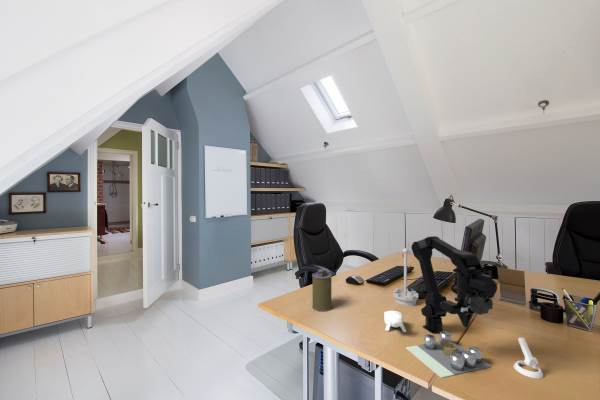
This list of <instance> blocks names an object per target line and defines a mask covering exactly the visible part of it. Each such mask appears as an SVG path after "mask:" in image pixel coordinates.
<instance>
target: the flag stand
mask: <svg viewBox="0 0 600 400" xmlns="http://www.w3.org/2000/svg"><path fill="white" fill-rule="evenodd" d="M402 253H403V254H402V258H403V290H401V288H399V287H398V288H395V289H393V290H392V293H393V294H392V296H393V297H394V301H396V302H397V304H398V303H399V304H398V305H401V304H402V305H401V306H405V305H406V307H411V306H415V305H417V300H418V299H419V293H418V292H417V291H416V290H413V289H412V290H411V291H410V290H409V288H408V253H409V249H408V248H406V247H404V248H403V249H402ZM396 302H395V303H396Z"/></svg>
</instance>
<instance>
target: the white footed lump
mask: <svg viewBox="0 0 600 400" xmlns="http://www.w3.org/2000/svg"><path fill="white" fill-rule="evenodd" d="M383 313H384V314H383V317H384V320H383V321H384V323H385V325H386V326H385V331H386V332H389V331H390V328H392V327H393V328H399V327H400V329H401V330H402V332H403V333H406V332H407V329H406V327H405V326H404V317H403V313H402V312H400V311H396V310H387V311H384V312H383Z"/></svg>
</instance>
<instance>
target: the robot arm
mask: <svg viewBox="0 0 600 400" xmlns="http://www.w3.org/2000/svg"><path fill="white" fill-rule="evenodd" d="M433 250H436V251H437V252H439V253H441V254H442V255H443V256H446V257H447V258H449V259H450V262H451V263H452V265H454V266H455V268H454V269H452V271H453V273H456V275H457V277H456V278H457V279H456V280H457V283H456V285H457V286H455V287H454V291H456V292H457V293H456V297H454V301H455V302H454V301H452V300H450V299H449V300H448V299H447V297H446V296H444V295H442V294H441V293H440V289H439V286H438V283H437V279H436V274H435V271H434V267H433V263H432V260H431V259H432V256H433ZM411 251H412V255H413V257H415V258H416V260H417V261H418V262H419V267H420V270H421V275H422V278H423V282H424V285H425V286H424V287H425V291H426V296H425V299H424V302H425V305H424V306H423V307H422V308H421V309H420V311H421V314H422V316H424V317H425V324H424V325H422V328H423V329H425V330H426V331H428V332H430V333H431V334H440V331H446V330H445V329H443V317H444V318H446V316H447V313H449V314H451V315H457V316H458V318H459V320H460V322H461V325H462V327H464V328H465V329H466V328H468V326H469V325H470V323H471V320H472V318H473V317H474V315H476V314H477V315H480V316H481V315H484V314H486V315H487V314H488V313H489V311H490V310H493V309H494V308H493V306H494V305H493V304H494V303H493V302H494V301H493V300H492V299H491V297H493V296H495V294H496V293H497V291H498V285H497V283H496V281H495V280H494V279H493V276H492V275H489V274H488V275H487V274H486V272H485V270H484V269H485V268H484V267H483V266H482V264H481V262H480V260H479V258H478V255H476V254H474V253H473V252H470V251H466V250H460V249H458V248H457V247H455V246H453V245H451V244H449V243H448V242H446V241H444V240H442V239H441V238H440V237H439V236H437V235H431V236H427V237H426V238H422V239H420V240H418V241H417V240H416V241H414V242H412V245H411ZM479 293H480V294H482V295H484V296H487V297H485V298H484V297H480V295H479Z"/></svg>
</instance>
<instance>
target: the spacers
mask: <svg viewBox="0 0 600 400" xmlns="http://www.w3.org/2000/svg"><path fill="white" fill-rule="evenodd" d="M451 340H452V333H451V332H449V331H447V330H445V331H440V333H439V341H440V343H443V342H445V341H447V342H450V343H451ZM436 342H437V340H436V337H435V336H434V335H432V334H429V333H427V334H424V336H423V344H424V347H425V348H426V349H429V350H435V349H436ZM482 360H483V350H482V349H481V348H480V347H478V346H473V345H471V346H469V347H468V350H467V349H466V350H464V351H462V355H461V354H459V353H451V368H453V369H454V370H456V371H464V366H465V367H467V368H470V369H474V368H476V364H481V363H482Z"/></svg>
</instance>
